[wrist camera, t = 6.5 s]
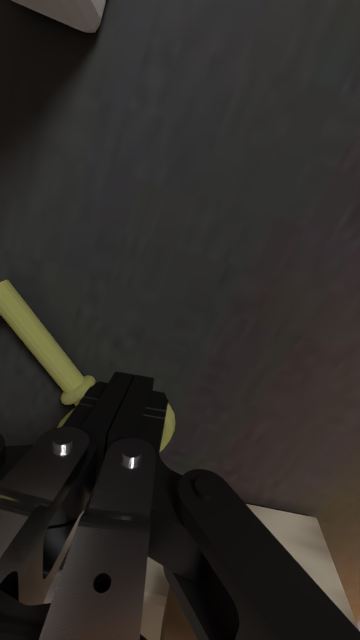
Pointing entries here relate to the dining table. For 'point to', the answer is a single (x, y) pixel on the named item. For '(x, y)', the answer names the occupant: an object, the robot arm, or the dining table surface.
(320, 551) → the stacked wooden blocks
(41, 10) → the salt shaker
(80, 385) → the key
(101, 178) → the dining table surface
